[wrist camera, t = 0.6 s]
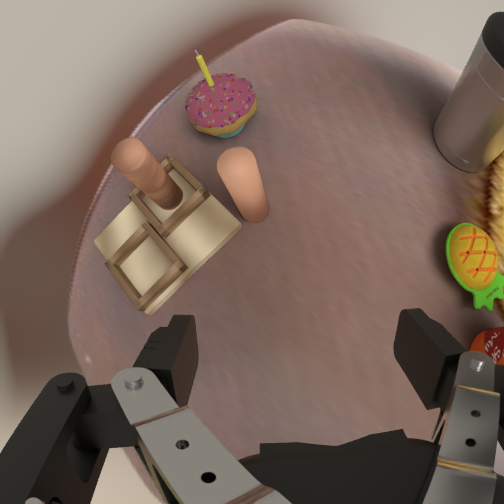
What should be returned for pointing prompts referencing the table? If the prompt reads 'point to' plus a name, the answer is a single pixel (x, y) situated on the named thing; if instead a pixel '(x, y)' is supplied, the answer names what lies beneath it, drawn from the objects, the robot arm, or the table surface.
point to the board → (161, 227)
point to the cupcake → (220, 103)
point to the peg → (244, 183)
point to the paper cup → (490, 344)
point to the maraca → (475, 264)
